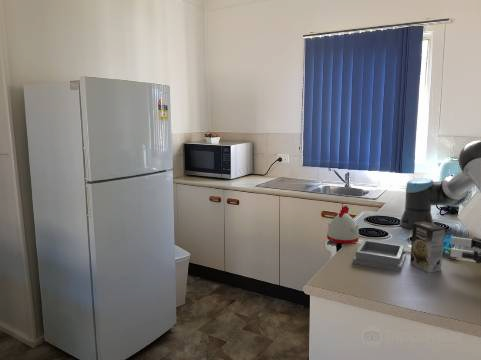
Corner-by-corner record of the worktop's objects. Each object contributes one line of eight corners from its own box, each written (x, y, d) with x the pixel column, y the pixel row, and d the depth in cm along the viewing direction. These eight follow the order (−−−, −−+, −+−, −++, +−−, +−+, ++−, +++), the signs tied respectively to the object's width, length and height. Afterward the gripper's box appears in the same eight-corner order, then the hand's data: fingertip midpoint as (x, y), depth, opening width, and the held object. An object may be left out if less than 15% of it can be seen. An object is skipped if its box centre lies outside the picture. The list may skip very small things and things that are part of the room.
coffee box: (409, 263, 146) (412, 222, 143) (422, 261, 148) (425, 220, 145) (428, 273, 138) (431, 229, 135) (442, 270, 140) (445, 227, 137)
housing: (361, 249, 162) (362, 238, 161) (405, 256, 154) (406, 245, 153) (352, 263, 147) (353, 252, 146) (400, 271, 139) (401, 259, 138)
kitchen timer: (363, 237, 176) (365, 205, 174) (350, 245, 166) (351, 212, 164) (336, 231, 185) (337, 201, 183) (321, 239, 175) (322, 206, 173)
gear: (431, 243, 163) (451, 229, 159) (440, 253, 163) (461, 239, 159) (436, 256, 153) (458, 241, 149) (447, 266, 153) (469, 252, 149)
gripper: (529, 281, 117) (449, 268, 127) (517, 254, 139) (449, 245, 149) (532, 257, 116) (451, 246, 126) (519, 234, 138) (451, 226, 148)
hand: (450, 246), depth 137 cm, fingers open, 13 cm apart
